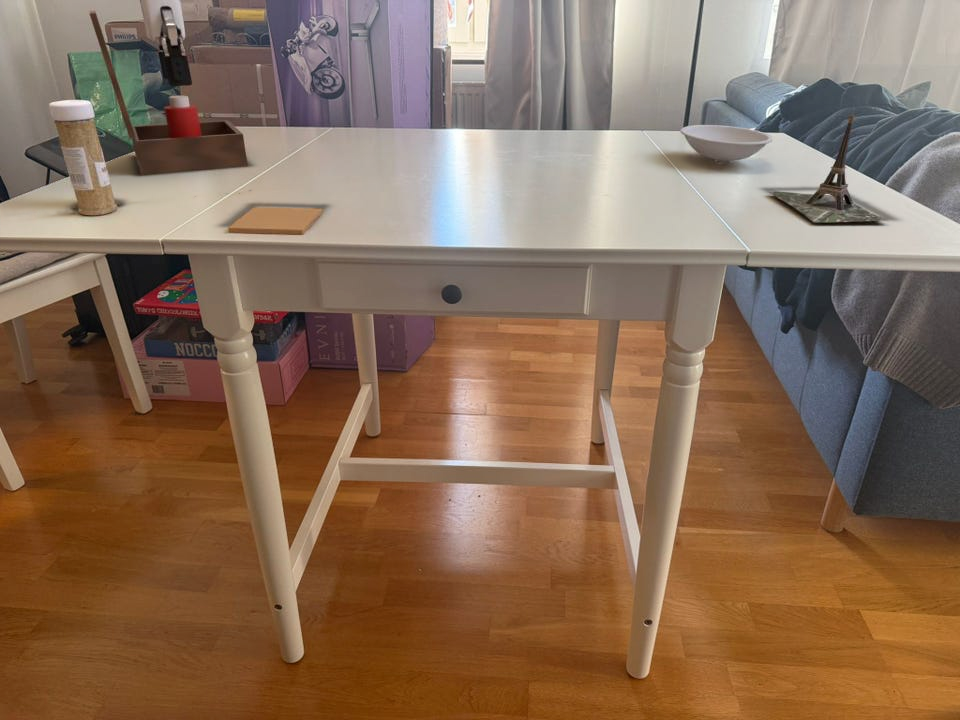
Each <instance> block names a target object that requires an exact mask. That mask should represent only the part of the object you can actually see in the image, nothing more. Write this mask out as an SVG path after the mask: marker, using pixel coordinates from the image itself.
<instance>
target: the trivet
mask: <svg viewBox="0 0 960 720" xmlns="http://www.w3.org/2000/svg"><path fill="white" fill-rule="evenodd" d="M322 214H324V213H323V209H322V208H307V207H305V208H301V207H265V206H264V207H263V206H253V207H252V208H251V209H250V210H249V211H247V212H246V213H245V214H244V215H242V216H241V217H240V218H239V219H237V220H236V221H235V222H233V223H232V224H231V225H230V226H228V227H227V229H228V233H233V234H234V233H235V234H236V233H238V234H239V233H240V234H275V235H304V234H305V233H306V232H307V231H308V230H309V229H310V228H311V226H312V225H313V224H314V223H315V222H316V221H317V220H318V219H319V217H321V216H322Z"/></svg>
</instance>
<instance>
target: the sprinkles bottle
mask: <svg viewBox="0 0 960 720" xmlns="http://www.w3.org/2000/svg"><path fill="white" fill-rule="evenodd" d="M48 107H49V112H50V115H51V119H52V120H54V121H53V123H54V124H55V127H56V131H57V134H58V138H59V142H60V148H61V152H62V156H63V158H64V162H65V165H66V169H67V173H68V175H69V180H70V184H71V187H72V189H73V191H74V195H75V199H76V202H77V206H78V209H77V210H78V213H79V214H81V215H84V216H103V215H107V214H111V213H113V212H115V211H116V210H117V209H118V204H117V202H116V200H115V197H114V192H113V188H112V185H111V179H110V175H109V172H108V168H107V164H106V160H105V157H104V156H105V155H104V153H103V148H102V146H101V143H100V139H99V134H98V130H97V126H96V123H95V116H96V115H95V111H94V107H93V104H92V102H91V101H90V100H87V99H86V100H85V99H66V100H57V101H52V102H50V103H49V104H48Z"/></svg>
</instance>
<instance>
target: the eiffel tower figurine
mask: <svg viewBox="0 0 960 720" xmlns="http://www.w3.org/2000/svg"><path fill="white" fill-rule="evenodd" d="M855 109H856V106H855V105H854V107H853V109H852V113H851V114H850V115H849V117H848V119H847V120H848V121H847V124H846V125H847V126H846V128H845V131H844V135H843V138H842V141H841V143H840V147H839V149H838V153H837V155H836V157H835V160H834V163H833V165H832V166H830V171H829V173H828V175H827V176H826V178H825V180H824V181H823V182H822V183H820V184H819V187H818V189H817V190H816V191H815V192H814V193H799V192H791V191H776V190H775V191H774V190H768V191H767V192H768V193H770V194H771V195H773V196H775V197H776V198H777V199H778V200H780V201H782V202H783V203H786V204H788V205H789V206H790V207H792V208H794V209H795V210H797V211H799V213H801V214H802V215H804V216H805V217H806V218H807V219H808V220H810V221H811V222H813V223H817V224H818V223H851V222H853V223H854V222H857V223H858V222H874V221H875V222H879V221H888V219H886V218H885V217H882V216H879V215H876V214H874V213H872V212H870V211H868V210H867V209H864V208H863V207H861V206H859V205H857V204H856V203H854V202H853V200H852V197H851V195H850V192H849V190H848V187H849V183H847V182H846V169H847V166H846V160H847V154H848V153H847V152H848V147H849V143H850V142H849V141H850V137H851V132H852V127H853V122H854V121H855V119H856V118H855V115H854V112H855ZM835 177H836V180H835ZM834 180H835V181H834Z"/></svg>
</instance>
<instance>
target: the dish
mask: <svg viewBox="0 0 960 720" xmlns="http://www.w3.org/2000/svg"><path fill="white" fill-rule="evenodd" d="M680 134H681V135H683V136H684V138H685V140H686V142H687V143H688V145H689V146H690V148H691V149H692V150H694V151H695V152H696V153H697V154H699V155H700V156H703V157H705V158H707V159H710V160H711V159H712V160H714V162H715V164H718V165H725V164H726V163H727V162H733V161H741V160H746V159H748V158H750V157H752V156H754V155H755V154H757V153H758V152H760V151H761V150H762V149H763V148H764V147H766V145H768V144H771V143H772V142H773V139H774V138H773V136H771V135H770V134H768V133H766V132H763V131H759V130H756V129H750V128H747V127H740V126H731V125H722V124H721V125H720V124H694V125H687V126H683V127H682V128H681V129H680Z"/></svg>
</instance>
